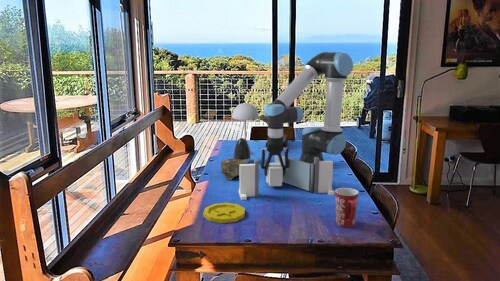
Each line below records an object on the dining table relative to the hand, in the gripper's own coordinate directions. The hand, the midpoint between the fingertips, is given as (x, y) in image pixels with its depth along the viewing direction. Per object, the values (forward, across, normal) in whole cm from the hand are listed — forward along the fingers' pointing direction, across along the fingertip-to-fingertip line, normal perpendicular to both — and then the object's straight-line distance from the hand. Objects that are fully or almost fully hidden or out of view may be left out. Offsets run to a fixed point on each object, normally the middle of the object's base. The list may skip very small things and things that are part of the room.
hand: (274, 181), depth 206 cm
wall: (+2, -3, +12) cm, 13 cm away
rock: (+2, +18, -18) cm, 26 cm away
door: (+2, -9, +2) cm, 9 cm away
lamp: (+2, +6, -64) cm, 64 cm away
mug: (+2, -18, +50) cm, 53 cm away
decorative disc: (+3, +28, +32) cm, 42 cm away
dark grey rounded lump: (+2, +11, -42) cm, 44 cm away
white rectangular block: (+1, 0, 0) cm, 1 cm away
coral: (+2, -16, -83) cm, 85 cm away
